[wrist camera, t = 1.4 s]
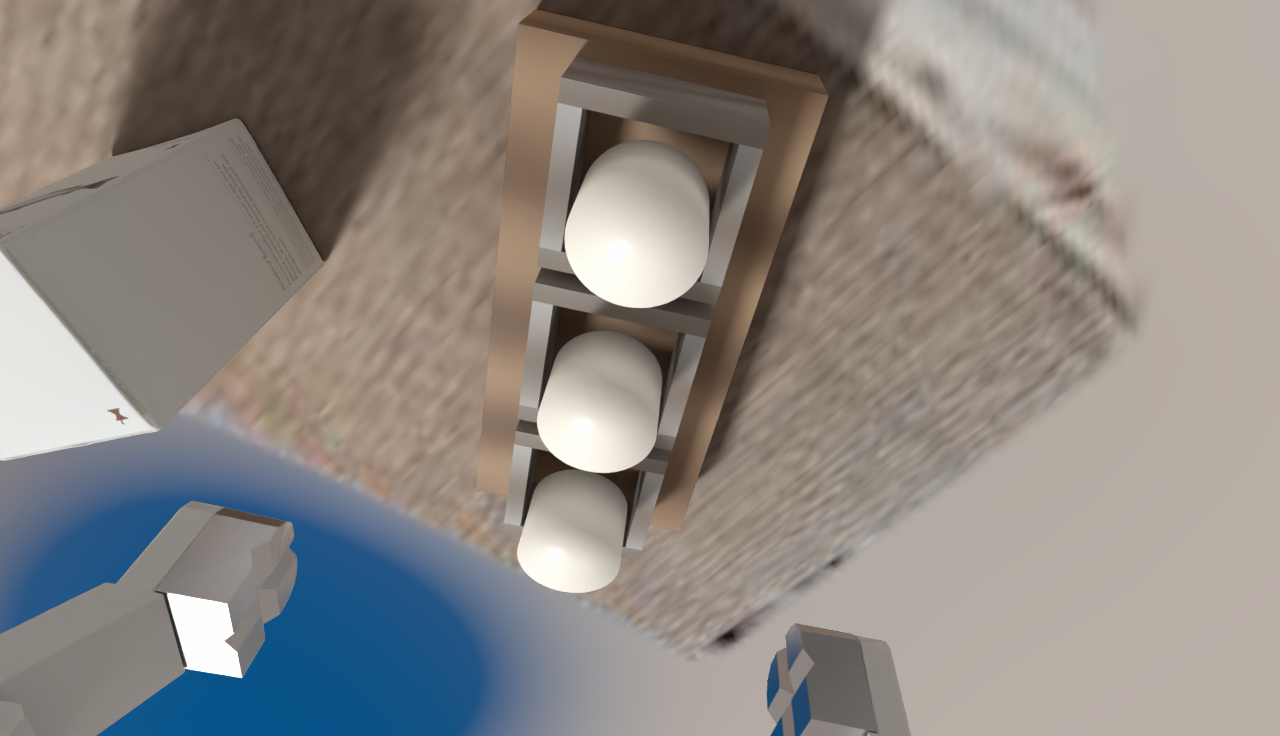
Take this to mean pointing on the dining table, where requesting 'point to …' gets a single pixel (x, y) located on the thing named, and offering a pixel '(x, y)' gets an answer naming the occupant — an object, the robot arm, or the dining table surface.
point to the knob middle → (601, 402)
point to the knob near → (639, 225)
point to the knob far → (574, 532)
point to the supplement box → (139, 286)
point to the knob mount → (565, 308)
